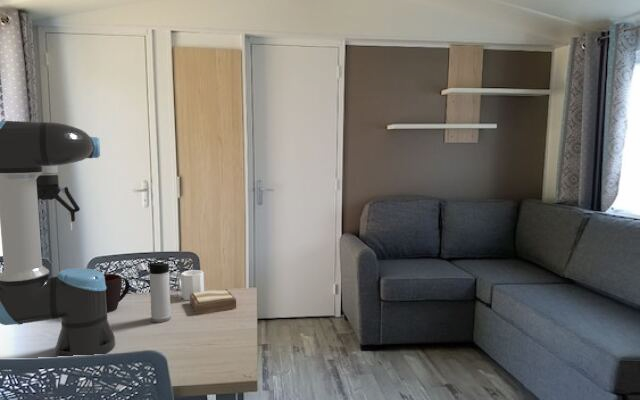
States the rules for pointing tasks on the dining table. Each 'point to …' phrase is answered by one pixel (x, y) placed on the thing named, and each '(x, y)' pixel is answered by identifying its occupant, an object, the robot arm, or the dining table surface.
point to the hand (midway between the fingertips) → (49, 231)
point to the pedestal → (212, 301)
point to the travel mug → (160, 292)
